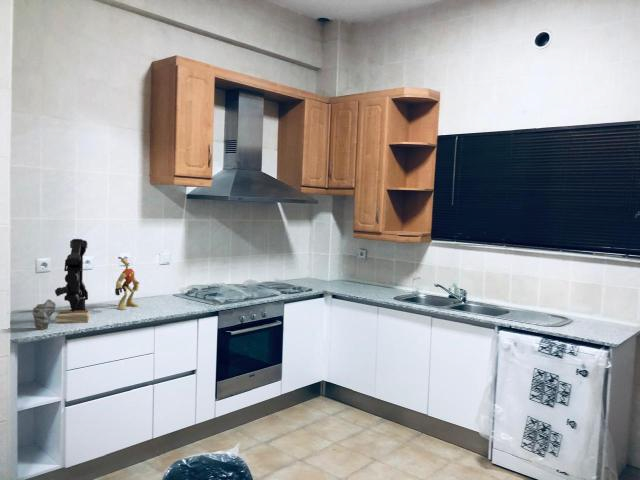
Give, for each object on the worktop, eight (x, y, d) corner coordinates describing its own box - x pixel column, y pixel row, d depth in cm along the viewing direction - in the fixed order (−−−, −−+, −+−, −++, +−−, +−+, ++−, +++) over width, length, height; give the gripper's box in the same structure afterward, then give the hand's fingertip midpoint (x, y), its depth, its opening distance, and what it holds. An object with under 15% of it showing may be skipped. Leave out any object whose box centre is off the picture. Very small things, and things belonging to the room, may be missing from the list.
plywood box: (58, 319, 278) (58, 311, 278) (89, 318, 283) (89, 310, 283) (55, 323, 269) (55, 315, 268) (87, 322, 274) (87, 314, 273)
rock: (31, 327, 259) (31, 296, 258) (43, 325, 264) (43, 295, 263) (43, 331, 252) (43, 300, 251) (55, 329, 256) (55, 299, 255)
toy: (120, 312, 299) (121, 259, 297) (107, 311, 301) (107, 258, 299) (142, 305, 322) (143, 255, 320) (129, 304, 324) (130, 255, 322)
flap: (59, 312, 278) (59, 311, 278) (88, 311, 282) (88, 310, 282) (58, 312, 274) (58, 311, 274) (87, 311, 278) (87, 310, 278)
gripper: (58, 279, 282) (58, 308, 283) (53, 284, 264) (53, 315, 265) (81, 279, 285) (81, 307, 286) (77, 284, 268) (77, 314, 268)
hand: (73, 311), depth 276 cm, fingers closed, pressing on flap
